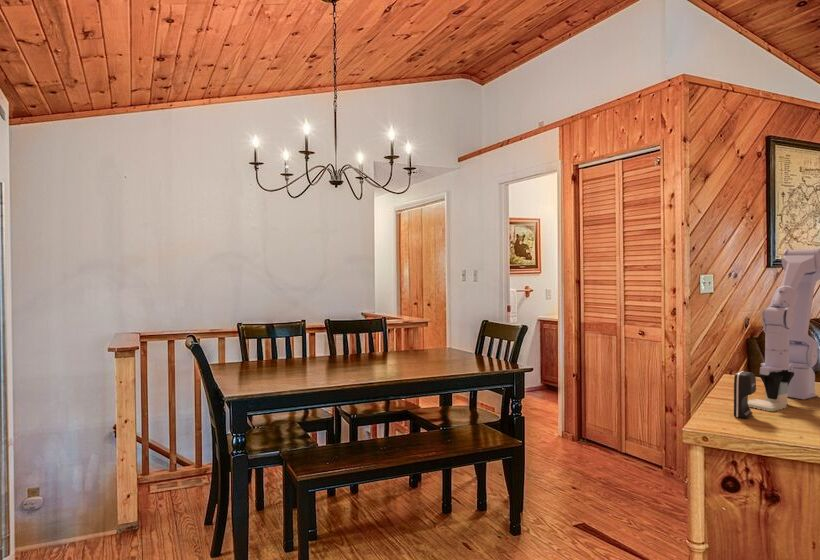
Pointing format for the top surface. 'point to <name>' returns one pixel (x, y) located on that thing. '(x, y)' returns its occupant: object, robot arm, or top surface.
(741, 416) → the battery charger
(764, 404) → the plate
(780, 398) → the brick stack
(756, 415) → the top surface
